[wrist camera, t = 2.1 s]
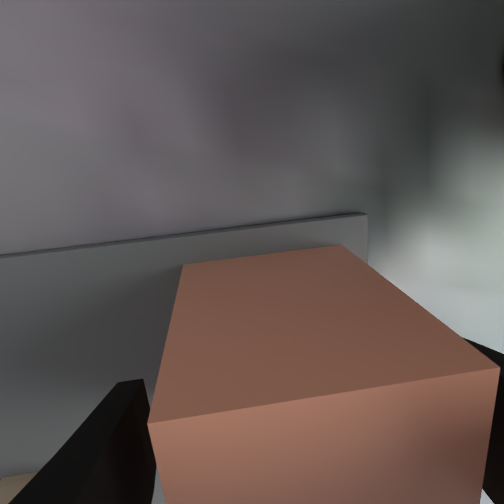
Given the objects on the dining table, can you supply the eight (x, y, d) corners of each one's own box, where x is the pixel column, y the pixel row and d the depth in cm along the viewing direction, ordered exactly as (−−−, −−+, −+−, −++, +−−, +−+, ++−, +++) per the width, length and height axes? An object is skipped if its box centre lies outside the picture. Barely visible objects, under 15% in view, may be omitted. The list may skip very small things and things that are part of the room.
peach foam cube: (343, 376, 13) (465, 591, 7) (205, 397, 13) (199, 649, 6) (341, 244, 11) (500, 367, 5) (183, 264, 11) (147, 423, 5)
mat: (360, 555, 17) (364, 565, 16) (-6, 628, 15) (-12, 641, 15) (363, 212, 12) (368, 214, 11) (-192, 278, 10) (-206, 282, 10)
